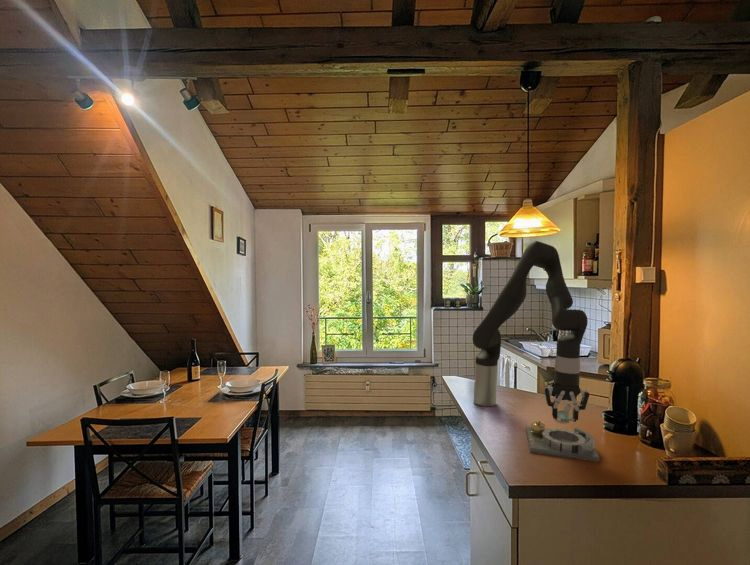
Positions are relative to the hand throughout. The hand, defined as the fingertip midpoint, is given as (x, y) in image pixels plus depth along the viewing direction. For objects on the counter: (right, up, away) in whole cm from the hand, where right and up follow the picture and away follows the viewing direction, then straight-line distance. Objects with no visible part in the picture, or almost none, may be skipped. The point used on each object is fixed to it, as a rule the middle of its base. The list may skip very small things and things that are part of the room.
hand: (564, 419), depth 137 cm
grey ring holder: (-1, -9, +2) cm, 9 cm away
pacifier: (-1, -1, 0) cm, 1 cm away
